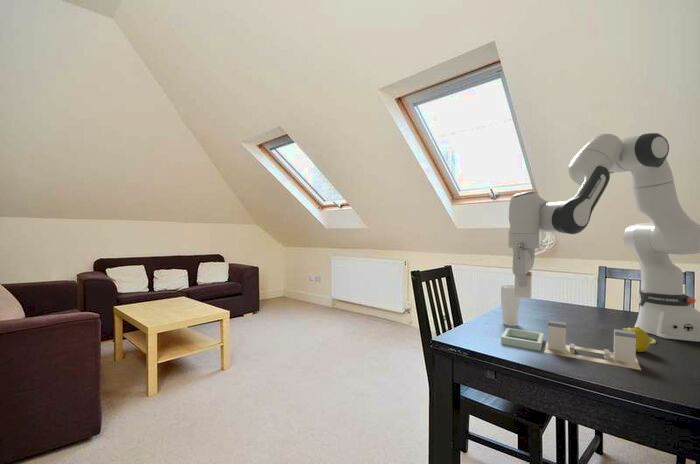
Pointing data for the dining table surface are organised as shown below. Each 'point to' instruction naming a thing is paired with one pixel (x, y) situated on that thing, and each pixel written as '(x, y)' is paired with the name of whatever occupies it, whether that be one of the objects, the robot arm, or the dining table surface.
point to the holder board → (611, 361)
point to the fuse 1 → (557, 335)
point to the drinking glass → (509, 305)
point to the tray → (521, 342)
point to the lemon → (641, 339)
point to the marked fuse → (524, 291)
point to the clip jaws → (606, 351)
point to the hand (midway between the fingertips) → (523, 285)
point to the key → (649, 338)
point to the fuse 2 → (624, 346)
